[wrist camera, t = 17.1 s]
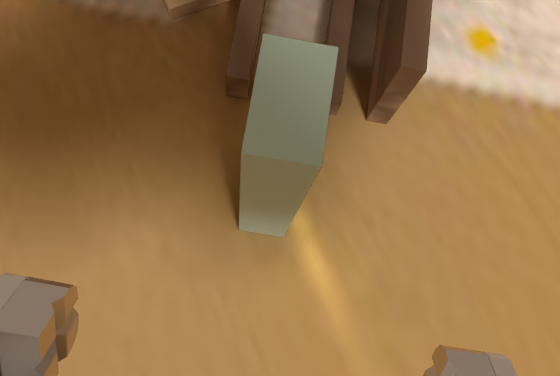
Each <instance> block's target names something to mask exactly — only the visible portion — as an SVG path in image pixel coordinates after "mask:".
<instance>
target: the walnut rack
mask: <svg viewBox="0 0 560 376" xmlns="http://www.w3.org/2000/svg"><path fill="white" fill-rule="evenodd" d="M265 1H266V0H241V2H240V7H239V12H238V17H237V22H236V26H235V31H234V36H233V41H232V46H231V51H230V56H229V61H228V66H227V71H226V95H228V96H233V97H239V98H244V99H247V96H248V91H249V86H250V80H251V75H252V70H253V65H254V59H255V54H256V49H257V43H258V38H259V33H260V27H261V22H262V17H263V11H264V6H265ZM354 4H355V0H332V2H331V9H330V16H329V22H328V29H327V36H326V43H325V45H329V46H335V47H339V48H338V55H337V62H336V69H335V76H334V83H333V90H332V98H331V105H330V112H329V114H334V115H336V113H337V111H338V109H339V107H340V105H341V102H342V94H343V87H344V79H345V72H346V64H347V57H348V49H349V42H350V34H351V27H352V19H353V12H354ZM431 11H432V0H380V7H379V15H378V24H377V32H376V41H375V49H374V58H373V66H372V75H371V83H370V92H369V100H368V109H367V117H366V120H367V121H373V122H378V123H384V124H387V122H388V121H389V120H390V118H391V117H392V116H393V115H394V113H395V112H396V111H397V109H398V108H399V107H400V105H401V104H402V103H403V101H404V100H405V99H406V97H407V96H408V95H409V93H410V92H411V91H412V89H413V88H414V87H415V86H416V84H417V83H418V82H419V80H420V79H421V78H422V76H423V75H424V74H425V72H426V69H427V57H428V46H429V34H430V22H431Z"/></svg>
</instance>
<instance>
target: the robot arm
mask: <svg viewBox="0 0 560 376" xmlns="http://www.w3.org/2000/svg"><path fill="white" fill-rule="evenodd" d="M77 299H78V295H77V287H76V286H74V285H71V284H65V283H60V282H55V281H49V280H44V279H39V278H34V277H25V276H20V275H15V274H10V273H5V274H3V275H1V276H0V376H57V375H58V362H59V361H61V360H62V359H64V358H66V357H67V356H68V354H69V352H70V350H71V348H72V346H73V344H74V341H75V338H76V335H77V330H78V323H79V318H78V313H77V312H76V310H75V309H74V308H73V306H74V305H75V303H76V301H77ZM432 359H433V363H434V365H433V366H432V367H430V368H428V369H427V370H425V373H424V375H423V376H517V374H516V372H515V370H514V367H513V365H512V363H511V361H510V359H509V358H508V357H507V356H506V355H503V354H496V353H489V352H481V351H476V350H469V349H463V348H456V347H450V346H443V345H439V346H438V347H437V348H436V349H435V351H434V353H433V355H432Z"/></svg>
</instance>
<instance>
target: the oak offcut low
mask: <svg viewBox="0 0 560 376" xmlns="http://www.w3.org/2000/svg"><path fill="white" fill-rule="evenodd" d="M227 1H230V0H163V2H164V4H165V6H166V8H167V11H168V13H169V15H170V18H171V20H172V19H175V18H178V17H181V16H184V15H187V14H190V13H193V12H196V11H199V10H202V9H206V8H209V7H212V6H215V5H218V4H221V3H224V2H227Z"/></svg>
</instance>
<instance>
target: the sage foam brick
mask: <svg viewBox="0 0 560 376" xmlns="http://www.w3.org/2000/svg"><path fill="white" fill-rule="evenodd" d="M338 48H339V47H335V46H329V45H324V44H319V43H313V42H308V41H302V40H297V39H292V38H286V37H281V36H275V35H270V34H265V33H263V37H262V43H261V48H260V54H259V59H258V64H257V70H256V75H255V80H254V86H253V91H252V96H251V102H250V107H249V112H248V118H247V123H246V129H245V134H244V139H243V145H242V150H241V169H240V203H239V230H242V231H248V232H254V233H260V234H266V235H272V236H278V237H283V236H284V234H285V233H286V231H287V229H288V227H289V225H290V223H291V222H292V220H293V218H294V216H295V214H296V213H297V211H298V209H299V207H300V205H301V204H302V202H303V200H304V198H305V196H306V195H307V193H308V191H309V189H310V187H311V186H312V184H313V182H314V180H315V178H316V176H317V175H318V173H319V171H320V169H321V167H322V162H323V155H324V148H325V140H326V133H327V126H328V119H329V112H330V105H331V98H332V90H333V83H334V76H335V69H336V62H337V55H338Z"/></svg>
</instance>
